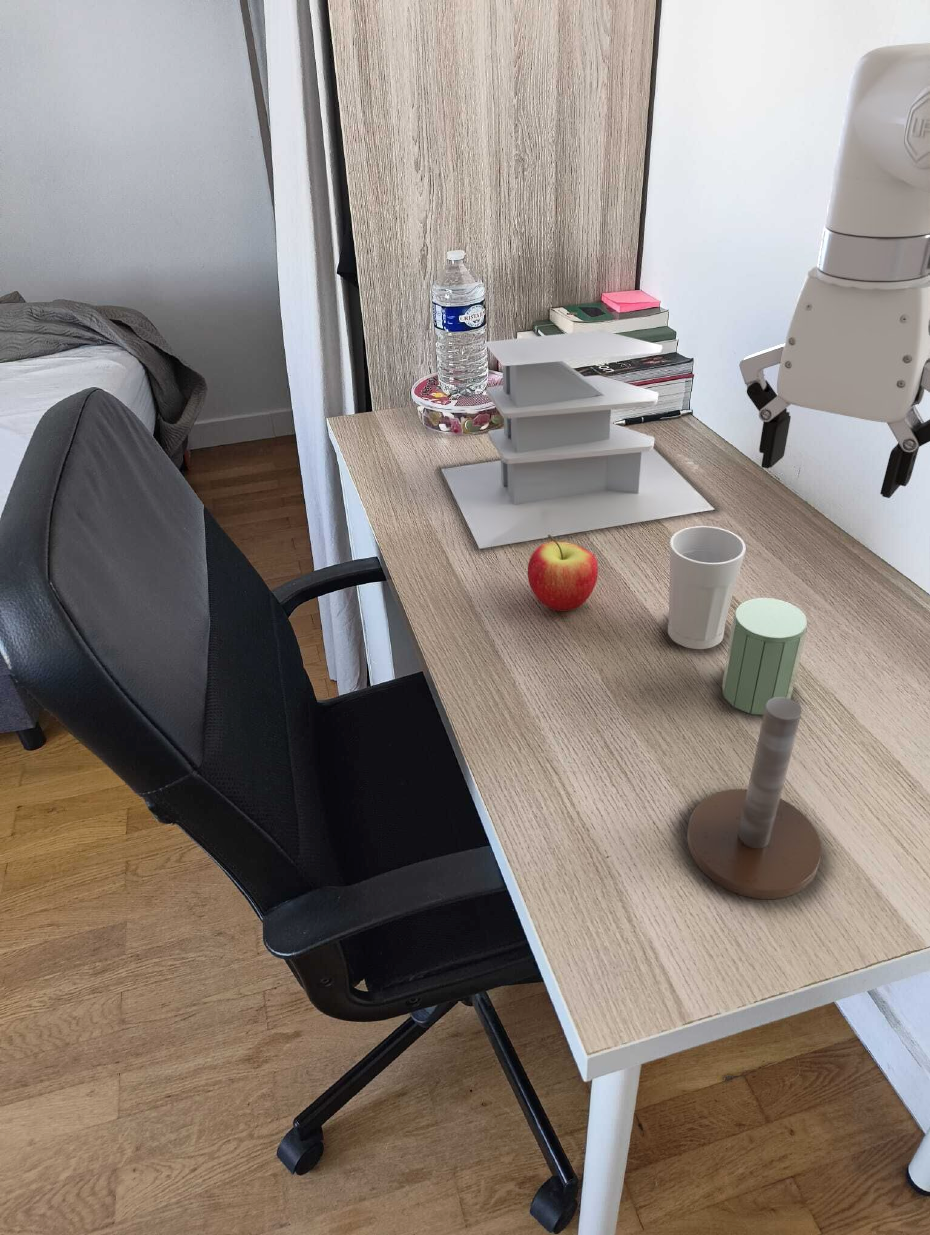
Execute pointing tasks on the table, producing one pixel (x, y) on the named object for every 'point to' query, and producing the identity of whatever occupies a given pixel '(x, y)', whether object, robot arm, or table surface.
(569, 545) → the apple
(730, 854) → the towel stand
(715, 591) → the cup
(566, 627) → the table surface
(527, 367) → the file organizer
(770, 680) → the green cup
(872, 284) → the robot arm
